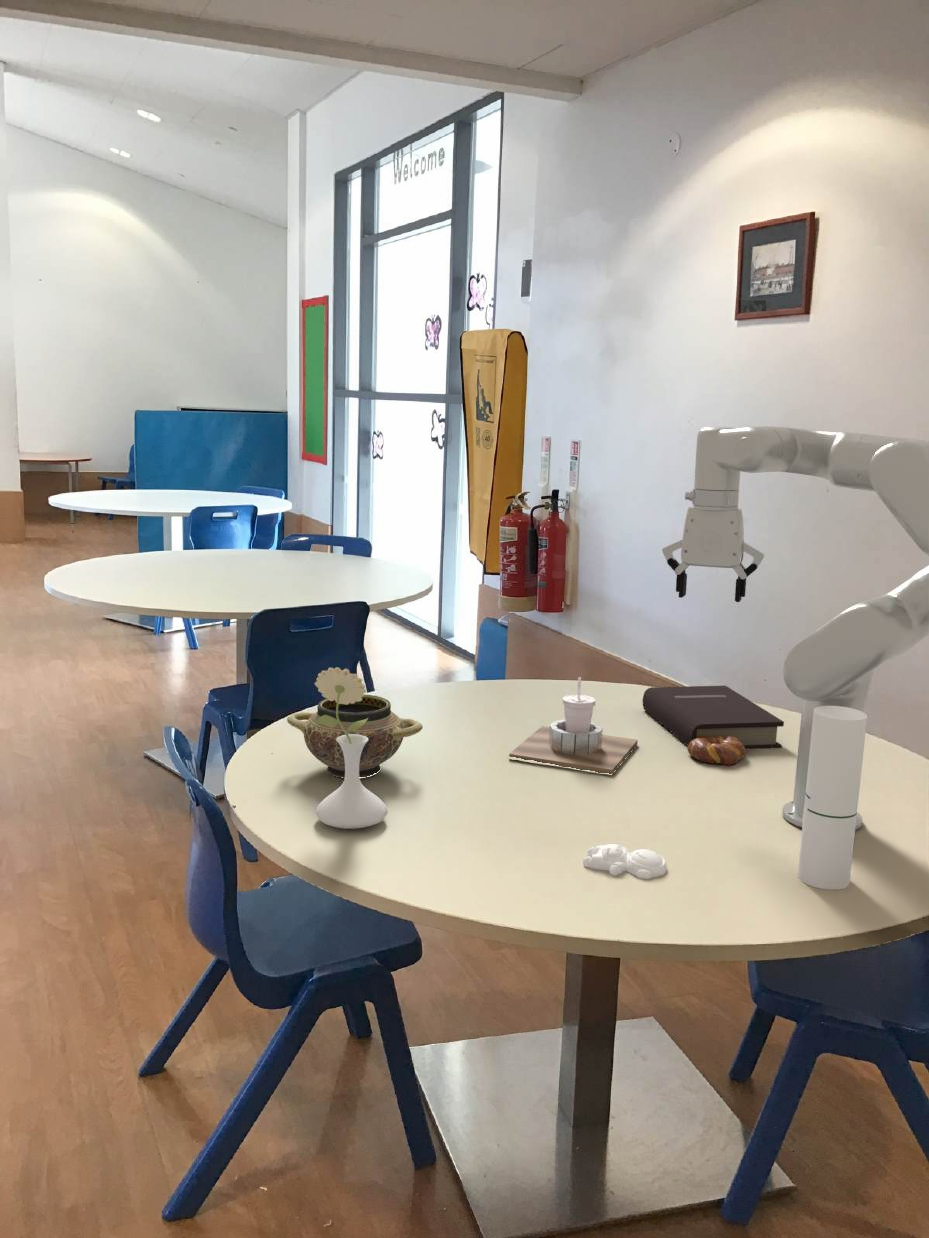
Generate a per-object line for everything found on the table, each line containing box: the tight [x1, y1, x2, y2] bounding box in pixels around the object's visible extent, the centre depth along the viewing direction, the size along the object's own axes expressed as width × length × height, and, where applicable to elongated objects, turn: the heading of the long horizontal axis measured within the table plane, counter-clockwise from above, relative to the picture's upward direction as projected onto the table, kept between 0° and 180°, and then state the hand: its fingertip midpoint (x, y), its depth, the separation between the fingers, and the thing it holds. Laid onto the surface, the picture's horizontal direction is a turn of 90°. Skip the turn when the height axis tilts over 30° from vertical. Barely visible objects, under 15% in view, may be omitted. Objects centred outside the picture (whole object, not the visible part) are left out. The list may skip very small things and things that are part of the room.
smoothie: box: [561, 676, 596, 733], centre depth 207 cm, size 6×6×14 cm
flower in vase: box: [314, 666, 388, 830], centre depth 170 cm, size 13×11×25 cm
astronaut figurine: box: [582, 843, 668, 880], centre depth 158 cm, size 9×12×3 cm
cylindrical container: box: [797, 706, 868, 891], centre depth 153 cm, size 7×7×25 cm
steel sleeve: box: [549, 718, 603, 755], centre depth 209 cm, size 10×10×4 cm
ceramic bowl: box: [286, 694, 423, 778], centre depth 193 cm, size 24×18×15 cm
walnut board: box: [508, 725, 639, 774], centre depth 209 cm, size 20×20×1 cm
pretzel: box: [687, 736, 747, 766], centre depth 209 cm, size 12×11×4 cm
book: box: [642, 685, 785, 750], centre depth 227 cm, size 28×20×6 cm
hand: (709, 598), depth 187 cm, fingers open, 9 cm apart
